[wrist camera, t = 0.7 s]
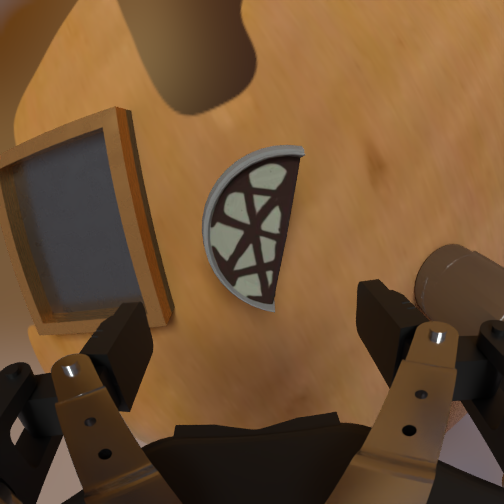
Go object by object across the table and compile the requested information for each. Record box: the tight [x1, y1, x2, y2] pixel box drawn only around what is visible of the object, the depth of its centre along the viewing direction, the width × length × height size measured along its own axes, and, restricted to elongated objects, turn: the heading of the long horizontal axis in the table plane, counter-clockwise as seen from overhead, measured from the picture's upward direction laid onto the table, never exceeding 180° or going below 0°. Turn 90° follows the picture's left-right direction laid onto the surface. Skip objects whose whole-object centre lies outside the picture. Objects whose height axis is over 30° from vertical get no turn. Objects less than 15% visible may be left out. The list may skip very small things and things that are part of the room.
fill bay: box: [0, 107, 174, 335], centre depth 30 cm, size 17×21×4 cm
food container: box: [202, 145, 305, 312], centre depth 26 cm, size 12×6×10 cm, turn 171°
